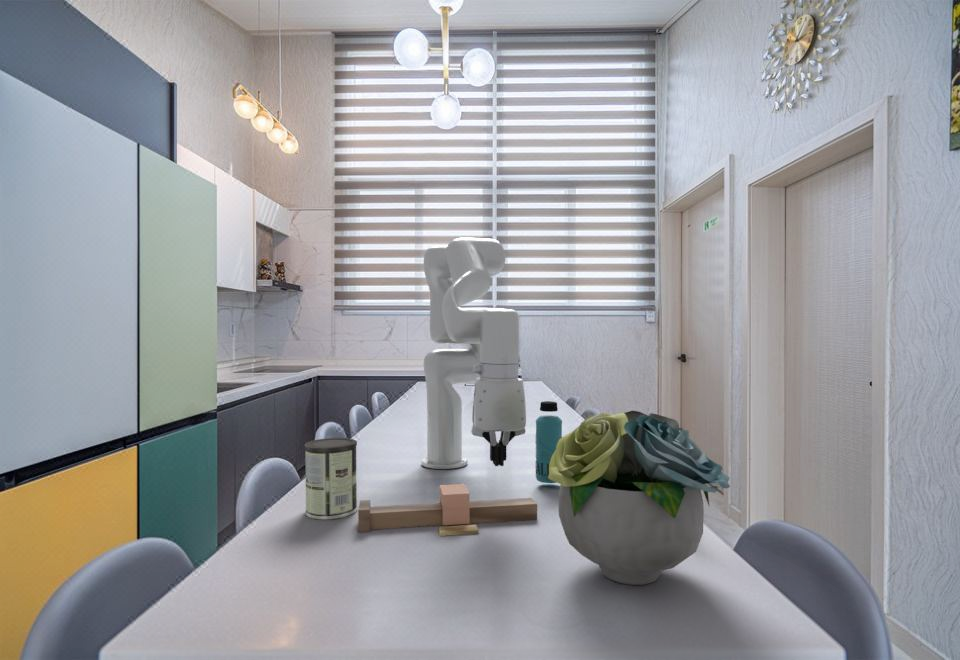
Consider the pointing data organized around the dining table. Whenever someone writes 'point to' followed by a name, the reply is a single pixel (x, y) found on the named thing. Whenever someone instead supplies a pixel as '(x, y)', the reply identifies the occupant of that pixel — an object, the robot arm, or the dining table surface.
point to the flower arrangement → (632, 493)
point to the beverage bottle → (546, 440)
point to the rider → (454, 504)
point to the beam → (433, 515)
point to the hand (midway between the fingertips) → (498, 464)
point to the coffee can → (331, 478)
